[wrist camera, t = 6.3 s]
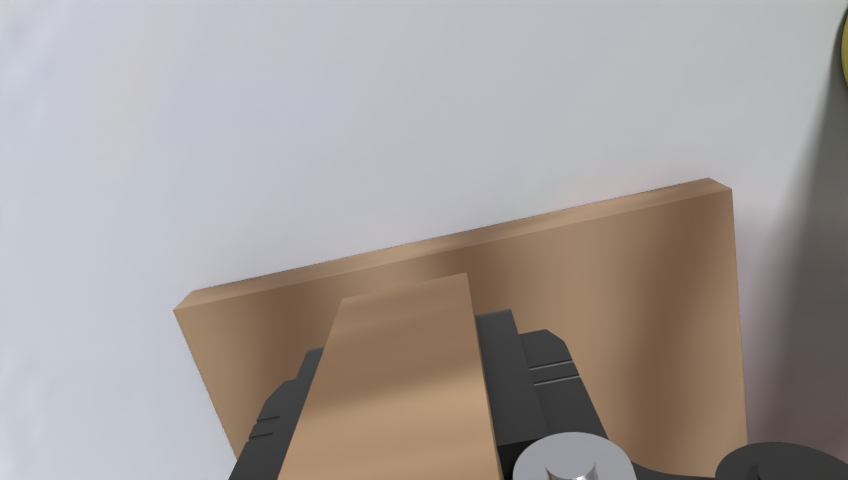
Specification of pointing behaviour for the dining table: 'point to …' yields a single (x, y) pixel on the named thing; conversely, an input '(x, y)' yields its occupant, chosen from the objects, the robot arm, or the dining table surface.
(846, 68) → the vase
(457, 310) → the wooden stamp block
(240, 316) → the board
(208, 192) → the dining table surface
